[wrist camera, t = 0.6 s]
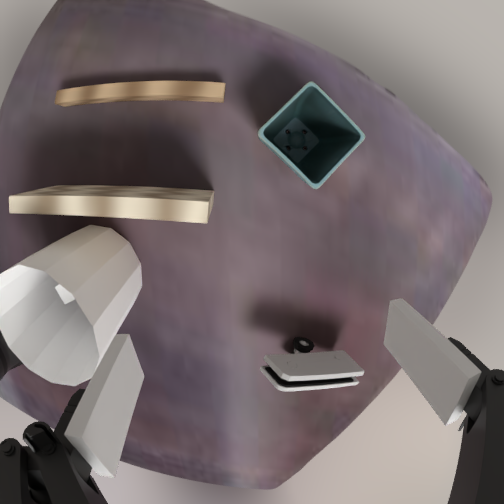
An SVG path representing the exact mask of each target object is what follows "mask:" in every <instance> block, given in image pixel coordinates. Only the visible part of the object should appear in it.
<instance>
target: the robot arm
mask: <svg viewBox="0 0 504 504" xmlns="http://www.w3.org/2000/svg"><path fill="white" fill-rule="evenodd" d="M384 345H385V347H386V348H387V349H388V350H389V352H390V353H391V354H392V355H393V357H394V358H395V359H396V361H397V362H398V363H399V364H400V366H401V367H402V368H403V369H404V371H405V372H406V373H407V375H408V376H409V377H410V379H411V380H412V381H413V383H414V384H415V385H416V386H417V388H418V389H419V391H420V392H421V393H422V395H423V396H424V397H425V398H426V400H427V401H428V403H429V404H430V405H431V407H432V408H433V409H434V411H435V412H436V414H437V415H438V416H439V418H440V419H441V420H442V422H443V423H444V425H445V426H446V425H448V424H450V423H452V422H454V421H456V420H458V419H459V417H460V415H461V413H462V412H463V410H464V411H465V412H466V413H467V415H466V417H465V419H464V420H463V422H462V424H461V426H460V428H459V430H458V431H460V430H461V429H462V428H463V426H464V429H463V437H462V443H461V449H460V455H459V460H458V465H457V470H456V474H455V478H454V483H453V486H452V490H451V494H450V498H449V501H448V504H504V371H503V370H499V369H493V370H489V369H488V368H487V367H486V366H485V365H484V364H483V363H482V362H481V361H480V360H479V359H478V358H477V357H476V356H475V355H474V354H471V352H470V351H469V350H468V349H466V347H465V346H464V345H463V344H462V343H461V342H459V341H457V340H455V339H453V338H451V337H450V338H448V339H447V338H446V337H445V336H444V335H443V334H441V332H439V331H438V330H437V329H436V328H435V327H434V326H433V325H432V324H431V323H429V322H428V321H427V320H426V319H425V318H424V317H423V316H422V315H421V314H419V313H418V312H417V311H416V310H415V309H414V308H413V307H411V306H410V305H409V304H408V303H407V302H406V301H404V300H403V299H402V298H401V299H396V300H391V301H390V304H389V312H388V319H387V326H386V332H385V339H384ZM21 364H23V363H22V362H21V360H20V359H19V358H18V357H17V356H16V355H15V354H14V353H13V352H12V350H11V349H10V348H9V347H8V345H7V343H6V341H5V339H4V337H3V335H2V333H1V331H0V380H1V379H2V378H3V376H4V375H5V374H6V373H7V371H9V370H11V369H13V368H15V367H17V366H19V365H21ZM143 379H144V374H143V371H142V369H141V366H140V363H139V361H138V358H137V355H136V352H135V350H134V347H133V344H132V341H131V338H130V335H129V334H116V335H115V336H114V338H113V340H112V342H111V343H110V345H109V347H108V349H107V351H106V352H105V354H104V356H103V358H102V360H101V362H100V363H99V365H98V367H97V369H96V371H95V373H94V375H93V377H92V378H91V380H90V382H89V384H88V386H87V388H86V389H79V390H78V391H77V392H76V393H75V394H74V395H72V397H71V399H70V401H69V402H68V406H66V408H65V410H64V413H63V414H62V416H61V418H60V420H59V422H58V424H57V426H56V428H55V430H54V432H53V431H52V429H51V428H50V427H49V425H48V424H46V423H45V422H39V421H38V422H34V423H32V424H30V425H29V426H28V427H27V428H26V429H25V431H24V433H23V440H24V441H25V442H26V444H27V445H28V446H22V445H21V444H20V443H19V442H18V441H17V440H16V439H14V438H8V439H5V440H4V441H2V442H1V444H0V504H108V503H107V501H106V500H105V498H104V496H103V495H102V493H101V491H100V490H99V488H98V486H97V484H96V483H95V481H94V479H93V478H92V476H91V475H90V472H91V469H93V470H94V471H95V472H96V473H97V474H98V475H101V476H106V477H112V478H115V476H116V472H117V468H118V464H119V461H120V457H121V453H122V449H123V446H124V442H125V438H126V435H127V431H128V428H129V424H130V421H131V418H132V414H133V411H134V408H135V404H136V401H137V398H138V395H139V392H140V388H141V385H142V382H143Z"/></svg>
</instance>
